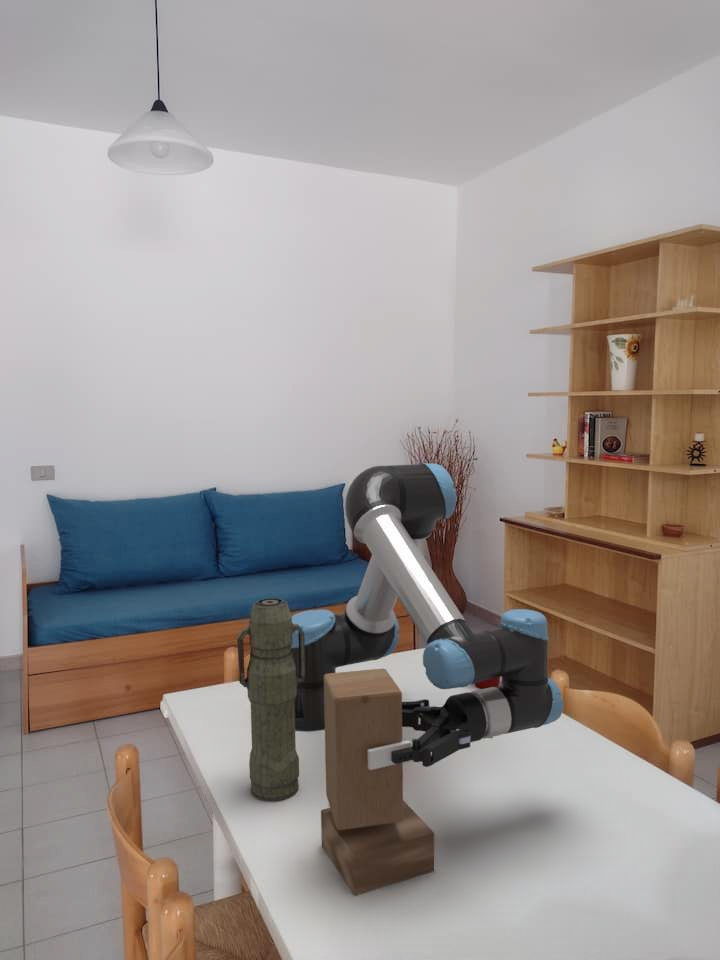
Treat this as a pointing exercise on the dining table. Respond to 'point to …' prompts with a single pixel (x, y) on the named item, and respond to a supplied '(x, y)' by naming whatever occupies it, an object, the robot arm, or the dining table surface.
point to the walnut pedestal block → (379, 850)
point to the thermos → (272, 698)
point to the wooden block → (362, 747)
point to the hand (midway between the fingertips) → (351, 742)
